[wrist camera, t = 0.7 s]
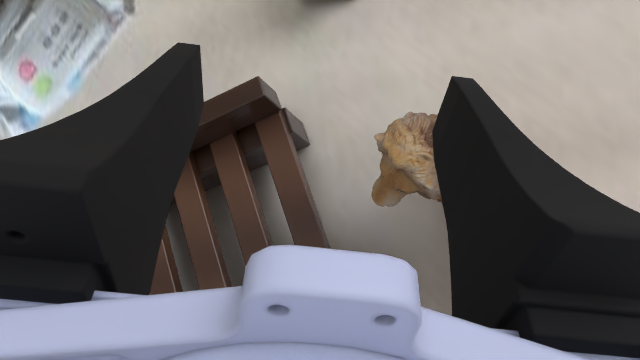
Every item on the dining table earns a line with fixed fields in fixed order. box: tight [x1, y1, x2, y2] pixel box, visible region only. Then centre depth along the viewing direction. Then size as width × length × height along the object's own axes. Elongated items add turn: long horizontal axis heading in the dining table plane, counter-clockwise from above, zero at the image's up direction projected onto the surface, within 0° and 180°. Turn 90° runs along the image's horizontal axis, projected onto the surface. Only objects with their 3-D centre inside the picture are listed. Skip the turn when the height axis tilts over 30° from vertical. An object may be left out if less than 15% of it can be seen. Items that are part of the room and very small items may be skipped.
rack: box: [150, 76, 330, 295], centre depth 29 cm, size 16×20×6 cm
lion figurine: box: [372, 112, 442, 207], centre depth 23 cm, size 15×5×9 cm, turn 66°
